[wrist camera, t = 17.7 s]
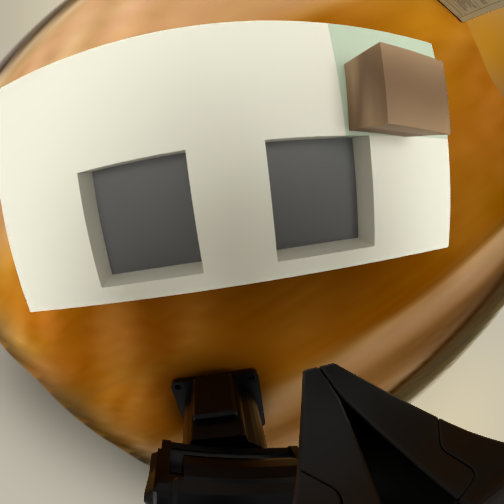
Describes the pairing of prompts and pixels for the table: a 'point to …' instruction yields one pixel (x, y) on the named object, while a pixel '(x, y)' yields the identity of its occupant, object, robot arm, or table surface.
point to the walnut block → (396, 93)
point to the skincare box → (471, 7)
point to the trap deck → (207, 165)
